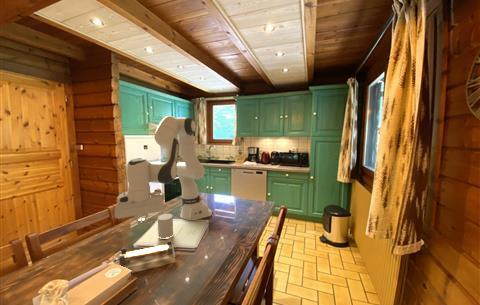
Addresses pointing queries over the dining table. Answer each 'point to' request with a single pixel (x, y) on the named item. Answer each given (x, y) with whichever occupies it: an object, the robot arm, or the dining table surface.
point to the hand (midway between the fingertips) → (141, 223)
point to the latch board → (148, 259)
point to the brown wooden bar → (146, 251)
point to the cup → (165, 225)
